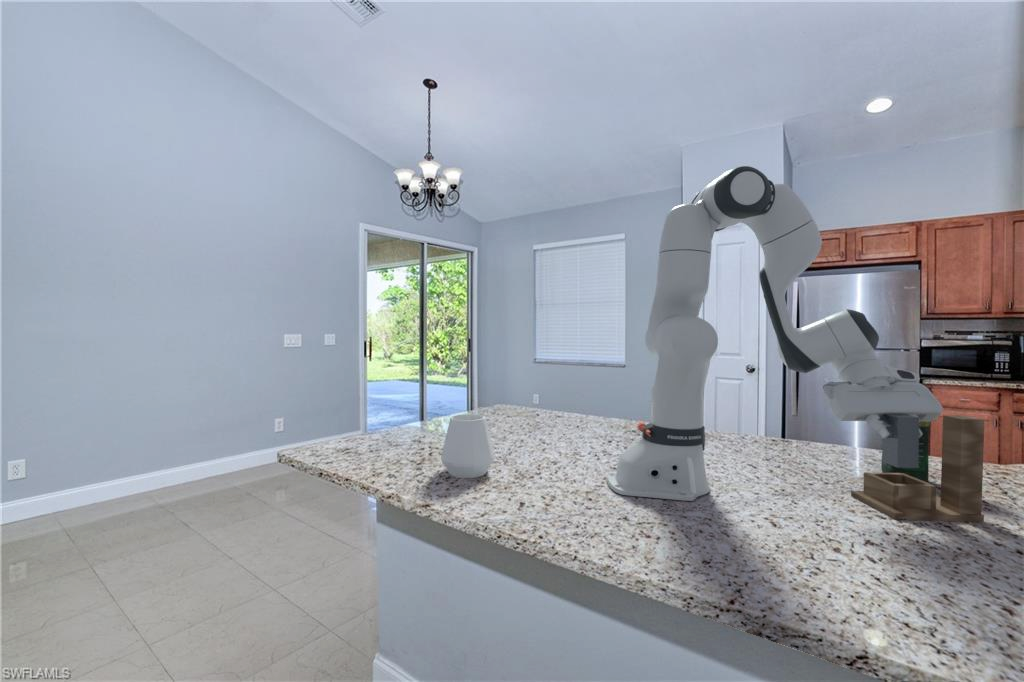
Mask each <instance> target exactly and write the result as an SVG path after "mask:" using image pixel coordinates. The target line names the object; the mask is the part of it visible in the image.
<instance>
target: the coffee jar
mask: <svg viewBox="0 0 1024 682" xmlns="http://www.w3.org/2000/svg"><path fill="white" fill-rule="evenodd" d="M930 427H931V421H919V429H920V430H921V432H922V433H923V435H922V436H921V437H920V438H919V464H918V468H897V467H894V466H892V465H889V464H887V463H884V462H882V461H881V466H880V467H881V473H904V474H907V475H909V476H912V477H914V478H917V479H919V480H922V481H925V482H927V483H929V475H930V474H929V472H930V471H929V467H930V465H929V461H930V460H929V457H930V455H929V454H930V453H929V452H930V451H929V448H930V447H929V446H930Z"/></svg>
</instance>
